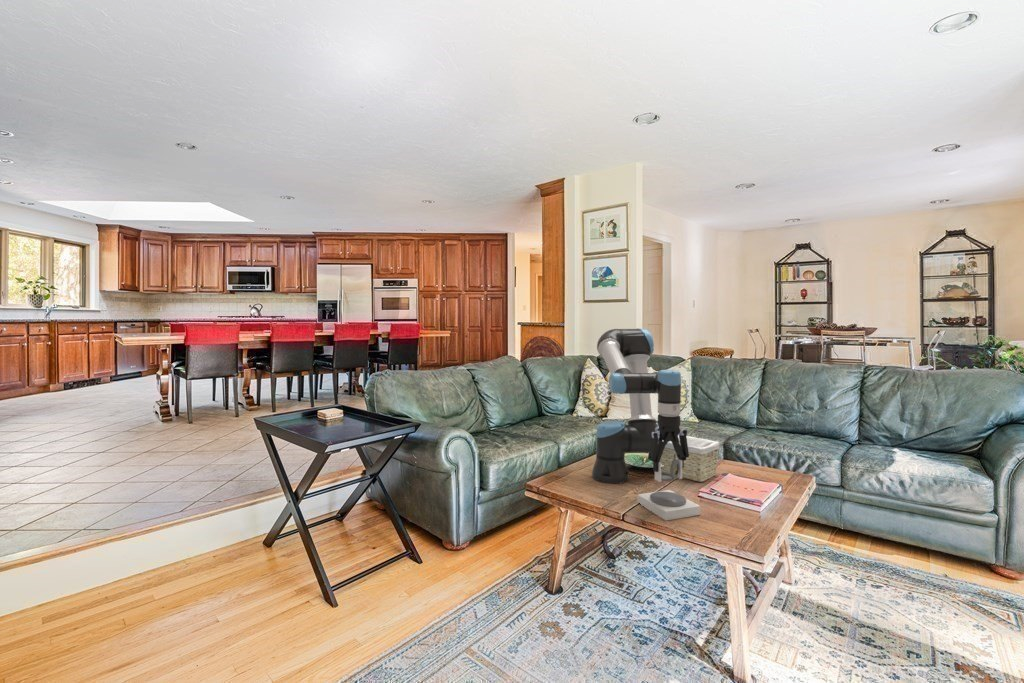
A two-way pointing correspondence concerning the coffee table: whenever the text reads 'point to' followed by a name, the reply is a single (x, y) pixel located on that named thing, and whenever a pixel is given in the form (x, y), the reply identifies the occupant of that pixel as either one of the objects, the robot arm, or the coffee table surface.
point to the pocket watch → (672, 471)
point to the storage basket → (694, 459)
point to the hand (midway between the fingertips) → (668, 479)
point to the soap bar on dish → (668, 505)
